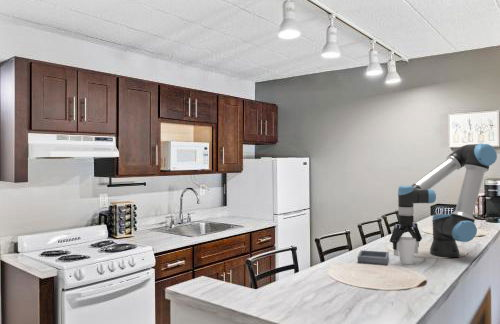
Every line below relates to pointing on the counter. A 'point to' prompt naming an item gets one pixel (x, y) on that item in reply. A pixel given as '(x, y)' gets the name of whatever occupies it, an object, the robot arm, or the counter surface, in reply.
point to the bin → (373, 257)
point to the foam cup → (407, 249)
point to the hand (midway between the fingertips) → (406, 254)
